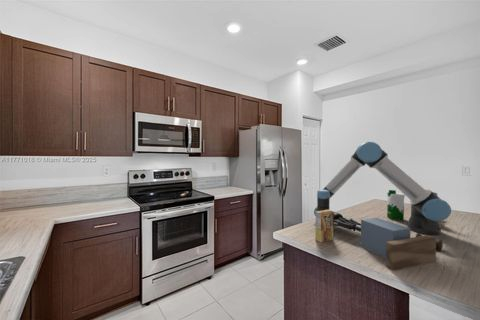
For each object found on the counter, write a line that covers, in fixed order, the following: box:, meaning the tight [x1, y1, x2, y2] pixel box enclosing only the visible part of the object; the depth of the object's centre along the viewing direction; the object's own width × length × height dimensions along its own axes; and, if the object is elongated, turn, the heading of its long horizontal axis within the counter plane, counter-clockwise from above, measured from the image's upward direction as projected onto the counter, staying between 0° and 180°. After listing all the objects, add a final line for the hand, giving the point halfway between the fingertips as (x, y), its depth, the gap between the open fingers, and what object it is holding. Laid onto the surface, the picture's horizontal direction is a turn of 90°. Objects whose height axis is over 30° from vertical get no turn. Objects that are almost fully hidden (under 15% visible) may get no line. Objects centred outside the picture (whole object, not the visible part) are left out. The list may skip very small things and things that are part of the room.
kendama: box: [415, 232, 444, 252], centre depth 99 cm, size 6×10×20 cm
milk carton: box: [386, 189, 406, 221], centre depth 147 cm, size 9×9×20 cm
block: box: [360, 217, 411, 259], centre depth 97 cm, size 16×10×13 cm, turn 17°
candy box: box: [314, 209, 334, 243], centre depth 110 cm, size 9×4×15 cm, turn 116°
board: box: [385, 234, 437, 271], centre depth 86 cm, size 3×24×10 cm, turn 107°
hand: (367, 231), depth 105 cm, fingers closed
